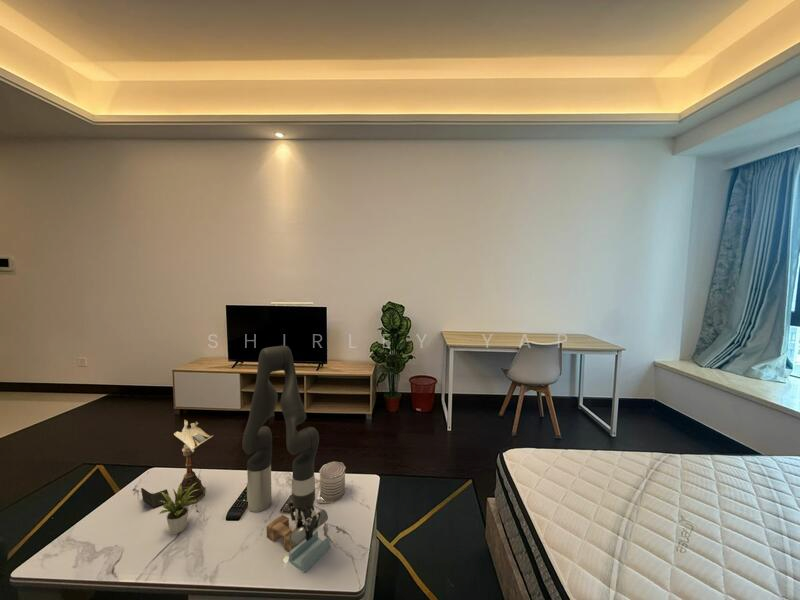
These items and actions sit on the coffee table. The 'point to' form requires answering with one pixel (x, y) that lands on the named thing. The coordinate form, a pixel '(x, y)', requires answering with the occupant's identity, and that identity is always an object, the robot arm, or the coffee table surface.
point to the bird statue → (189, 449)
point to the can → (332, 481)
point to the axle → (301, 531)
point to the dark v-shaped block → (154, 498)
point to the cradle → (309, 552)
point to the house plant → (177, 510)
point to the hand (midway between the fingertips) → (304, 536)
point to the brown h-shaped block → (280, 531)
